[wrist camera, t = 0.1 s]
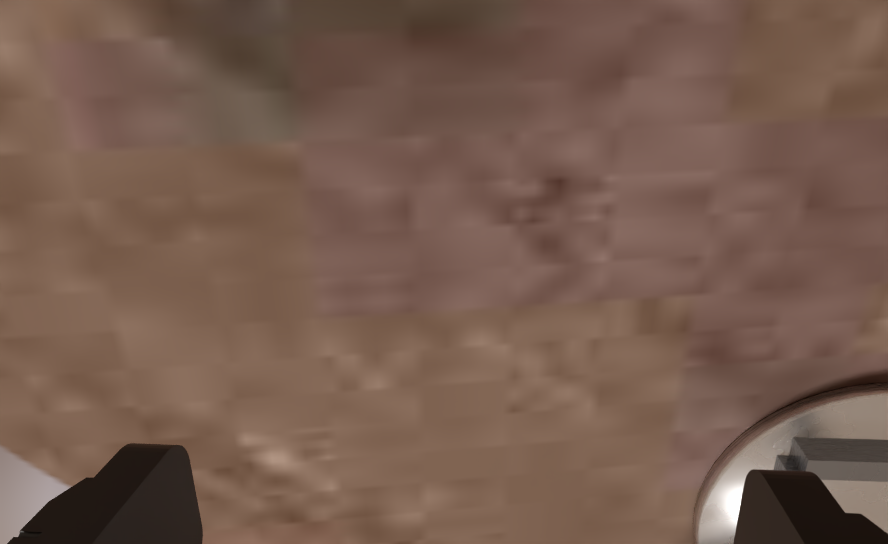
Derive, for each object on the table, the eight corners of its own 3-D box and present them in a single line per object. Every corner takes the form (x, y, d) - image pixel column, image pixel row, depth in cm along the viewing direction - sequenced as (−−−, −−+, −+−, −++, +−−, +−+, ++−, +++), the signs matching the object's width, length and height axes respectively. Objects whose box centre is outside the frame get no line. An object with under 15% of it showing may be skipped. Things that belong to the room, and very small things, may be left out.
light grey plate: (716, 379, 28) (736, 413, 25) (1083, 386, 26) (1139, 423, 24) (675, 614, 34) (688, 659, 31) (973, 629, 32) (1009, 677, 30)
